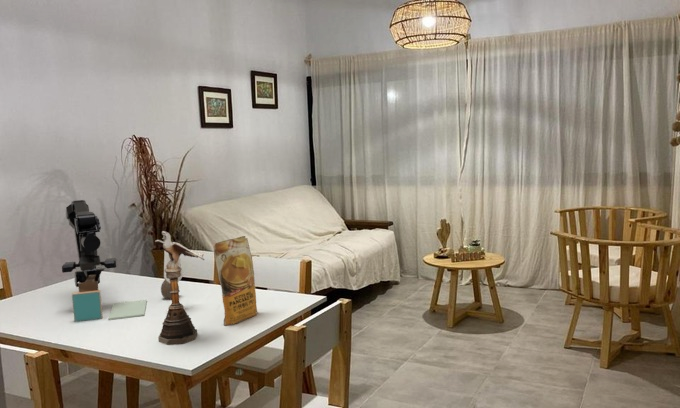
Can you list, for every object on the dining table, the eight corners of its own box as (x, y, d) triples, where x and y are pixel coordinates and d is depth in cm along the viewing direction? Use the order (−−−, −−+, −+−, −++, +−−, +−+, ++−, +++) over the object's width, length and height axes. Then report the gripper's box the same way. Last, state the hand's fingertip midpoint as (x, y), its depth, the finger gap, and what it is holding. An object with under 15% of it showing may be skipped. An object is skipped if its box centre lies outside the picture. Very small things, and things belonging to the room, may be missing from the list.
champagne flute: (180, 312, 202) (175, 247, 199) (163, 312, 203) (158, 247, 201) (188, 307, 209) (184, 244, 206) (172, 306, 210) (167, 244, 207)
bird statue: (191, 324, 189) (183, 222, 185) (216, 331, 181) (209, 224, 177) (148, 339, 176) (139, 230, 172) (173, 347, 168) (164, 233, 164)
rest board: (114, 304, 216) (114, 303, 216) (146, 301, 219) (146, 299, 219) (108, 320, 197) (108, 318, 197) (144, 315, 200) (144, 314, 200)
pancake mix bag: (211, 325, 187) (206, 243, 184) (250, 309, 203) (246, 234, 199) (226, 328, 183) (220, 244, 180) (264, 312, 199) (260, 235, 196)
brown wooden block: (84, 288, 215) (83, 275, 214) (102, 286, 216) (101, 273, 216) (79, 297, 202) (78, 283, 201) (98, 295, 204) (97, 282, 203)
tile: (75, 320, 198) (72, 293, 197) (102, 317, 201) (100, 290, 200) (74, 322, 196) (71, 294, 195) (101, 318, 199) (99, 291, 198)
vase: (161, 301, 218) (159, 279, 217) (161, 296, 225) (160, 275, 224) (179, 299, 220) (177, 277, 219) (179, 294, 227) (178, 273, 226)
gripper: (57, 253, 199) (61, 295, 201) (112, 248, 205) (116, 289, 207) (63, 247, 210) (66, 288, 212) (115, 243, 215) (119, 282, 217)
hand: (92, 287), depth 212 cm, fingers closed on brown wooden block, 3 cm apart
